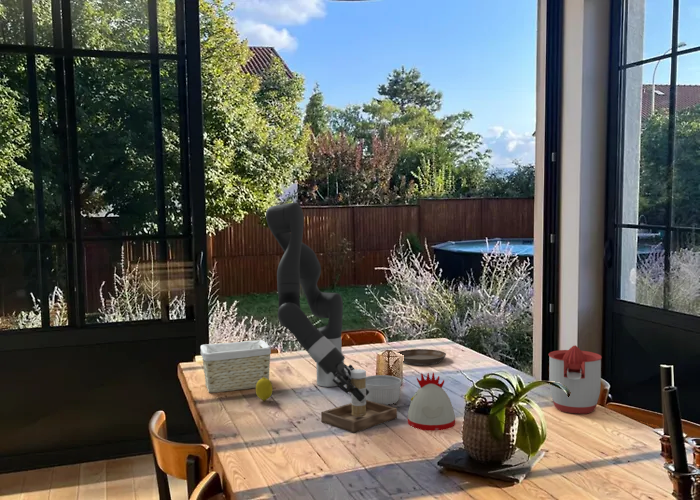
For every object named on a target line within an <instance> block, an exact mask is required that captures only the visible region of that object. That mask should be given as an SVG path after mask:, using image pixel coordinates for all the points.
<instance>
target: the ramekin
mask: <svg viewBox="0 0 700 500" xmlns="http://www.w3.org/2000/svg"><path fill="white" fill-rule="evenodd" d="M365 380H366V389H367V390H368V391H369V394H368V395H367V396H366V400H369V401H372V402H376V403H379V404H383V405H386V406H389V405H388V404H390V405H394V404H396V403H397V402H398V401H399V399H400V395H401V394H400V393H401V386H402V380H401V378H399V377H396V376H393V375H387V374H386V375H383V374H380V375H379V374H377V375H376V374H375V375H369V376H366V379H365ZM393 403H394V404H393Z"/></svg>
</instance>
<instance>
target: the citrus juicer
mask: <svg viewBox="0 0 700 500" xmlns="http://www.w3.org/2000/svg"><path fill="white" fill-rule="evenodd" d="M548 356H549V358H548V359H549V361H548V363H549V369H548V371H549V374H548V375H549V377H548V381H555V382H560V383H562V384H564V385H565V386H567V387H568V389H569V390H570V392H571V394H570V396H569V397H568V396H567V394H566V393H565V392H564V391H562V390H561V389H559V388H557V387H555V386H552V385H550V384H549V389H550V395H551V398H552V402H553V405H554V407H555V409H557V410H558V411H560V412H563V413H568V414H569V413H571V414H584V415H588V414H589V413H592V412H594V411H595V409H596V408H597V404H598V401H599V398H600V394H601V387H602V386H601V384H602V382H601V381H602V380H601V379H602V371H601V370H602V369H601V368H602V358H603V357H602V355H601V354H599V353H596V352H594V351H593V352H592V351H587V350H581V349H580V348H579V347H578V346H577V345H575V344H574V345H572V346H571V347H569V349H560V350H558V349H557V350H553V351H550V352H549V353H548Z"/></svg>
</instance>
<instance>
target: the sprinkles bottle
mask: <svg viewBox="0 0 700 500" xmlns="http://www.w3.org/2000/svg"><path fill="white" fill-rule="evenodd" d="M354 369H355V368H354ZM366 377H367V371H366V370H365V369H361V368H359V369H358V368H356V369H355V370H352V371H351V378H352V379H353V383H354V384H355V386H356V388H358V389H359V390H360V391H361V392H362V393H363V395H364V396H365V398H364V399H363V400H362V401H358V400H357V398H356V397H355V396H354V395H353V394H352V393H350V395H351V397H350V398H351V402H350V403H352V415H353V416H357V417H361V416H365V415H366V380H365V379H366Z"/></svg>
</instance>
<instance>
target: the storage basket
mask: <svg viewBox="0 0 700 500" xmlns="http://www.w3.org/2000/svg"><path fill="white" fill-rule="evenodd" d="M271 350H272V349H271V346H270V345H269V344H268V343H267V342H266V341H264V340H263V339H259V340H246V341H244V340H243V341H236V342H222V343H219V342H218V343H208V344H207V343H205V344H201V345H200V355H201V358H202V365H203V373H204V380H205V381H204V382H205V383H204V385H205V387H206V389H207V392H208V393H222V392H234V391H239V390H249V389H256V384H257V382H258V381H259V380H260V379H262V378H263V377H265V378H267V379H268V380H270V364H271V361H270V360H271V354H272V351H271Z"/></svg>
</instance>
